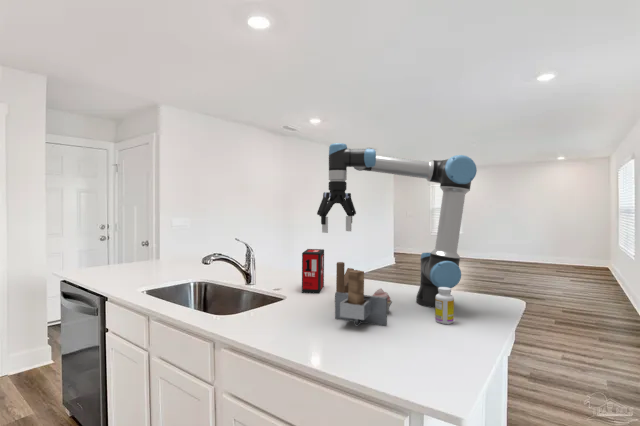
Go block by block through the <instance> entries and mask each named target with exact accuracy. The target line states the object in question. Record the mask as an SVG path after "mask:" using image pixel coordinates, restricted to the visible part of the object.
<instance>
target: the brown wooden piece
mask: <svg viewBox="0 0 640 426" xmlns="http://www.w3.org/2000/svg"><path fill="white" fill-rule="evenodd" d="M352 270H355V268H351V267H347V269H346V270H345V262H343V261H337V262H336V284H335V285H336V289H335V290H336V291H335V293H336V292H344V293H348V277H349V271H352Z"/></svg>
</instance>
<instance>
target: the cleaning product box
mask: <svg viewBox="0 0 640 426" xmlns="http://www.w3.org/2000/svg"><path fill="white" fill-rule="evenodd" d="M324 279H325V249H324V248H323V249H322V248H320V249H318V248H307V249H306V250H304V251H303V252H302V253H301V294H314V295H315V294H318V295H319V294H321V292H322V290H323V288H324V287H325V280H324Z"/></svg>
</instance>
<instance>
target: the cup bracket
mask: <svg viewBox="0 0 640 426" xmlns="http://www.w3.org/2000/svg"><path fill="white" fill-rule="evenodd" d="M334 319H337V320H343V321H349V322H354V326H359V325H360V324H361V323H363V324H369V325H370V324H371V325H378V326H384V327H386V326H387V325H388V314H387V297H378V296H372V295H369V294H364V304H363V305H360V304H352V303H348V293H344V292H336V291H335V292H334Z"/></svg>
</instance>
